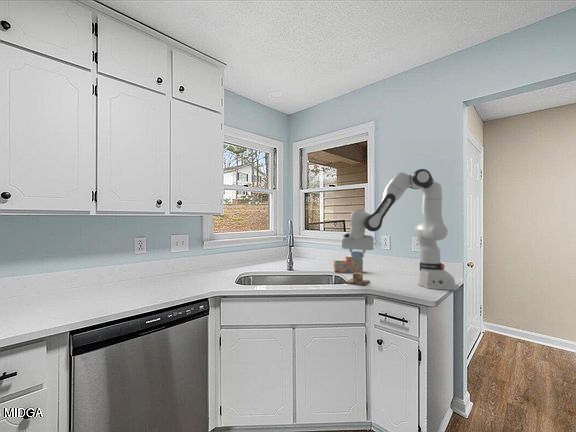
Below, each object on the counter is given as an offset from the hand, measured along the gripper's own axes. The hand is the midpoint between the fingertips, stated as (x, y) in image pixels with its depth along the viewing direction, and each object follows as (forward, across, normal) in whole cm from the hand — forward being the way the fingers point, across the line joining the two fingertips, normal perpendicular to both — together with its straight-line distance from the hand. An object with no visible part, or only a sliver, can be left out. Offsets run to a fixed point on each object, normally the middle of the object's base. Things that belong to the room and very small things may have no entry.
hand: (357, 256), depth 191 cm
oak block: (+16, 0, 0) cm, 16 cm away
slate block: (+2, 0, 0) cm, 2 cm away
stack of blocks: (+17, +19, -36) cm, 44 cm away
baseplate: (+17, 0, 0) cm, 17 cm away
